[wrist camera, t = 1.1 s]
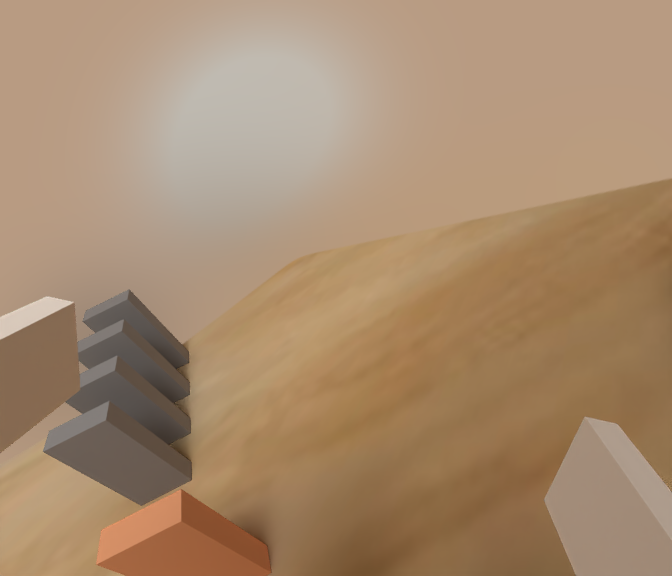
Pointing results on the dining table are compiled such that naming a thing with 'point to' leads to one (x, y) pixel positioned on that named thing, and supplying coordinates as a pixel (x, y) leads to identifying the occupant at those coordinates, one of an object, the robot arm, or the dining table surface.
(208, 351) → the dining table surface
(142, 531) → the domino
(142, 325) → the domino
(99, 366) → the domino
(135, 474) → the domino
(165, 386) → the domino
